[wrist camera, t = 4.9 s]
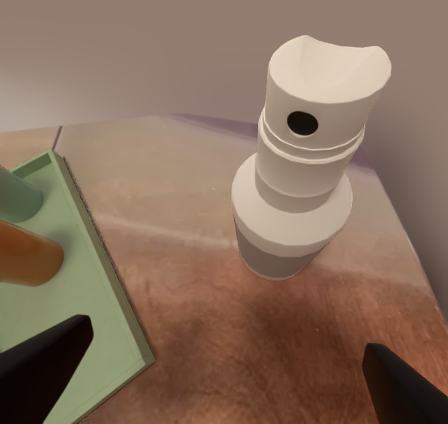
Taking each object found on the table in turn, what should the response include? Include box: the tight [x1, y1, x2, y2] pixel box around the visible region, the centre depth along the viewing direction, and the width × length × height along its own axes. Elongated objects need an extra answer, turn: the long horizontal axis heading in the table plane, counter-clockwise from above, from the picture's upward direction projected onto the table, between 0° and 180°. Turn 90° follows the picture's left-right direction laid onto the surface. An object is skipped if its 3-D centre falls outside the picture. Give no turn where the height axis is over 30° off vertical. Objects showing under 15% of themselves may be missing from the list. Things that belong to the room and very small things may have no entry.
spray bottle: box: [231, 35, 391, 281], centre depth 15 cm, size 7×7×18 cm
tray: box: [0, 148, 155, 424], centre depth 23 cm, size 29×12×2 cm, turn 36°
